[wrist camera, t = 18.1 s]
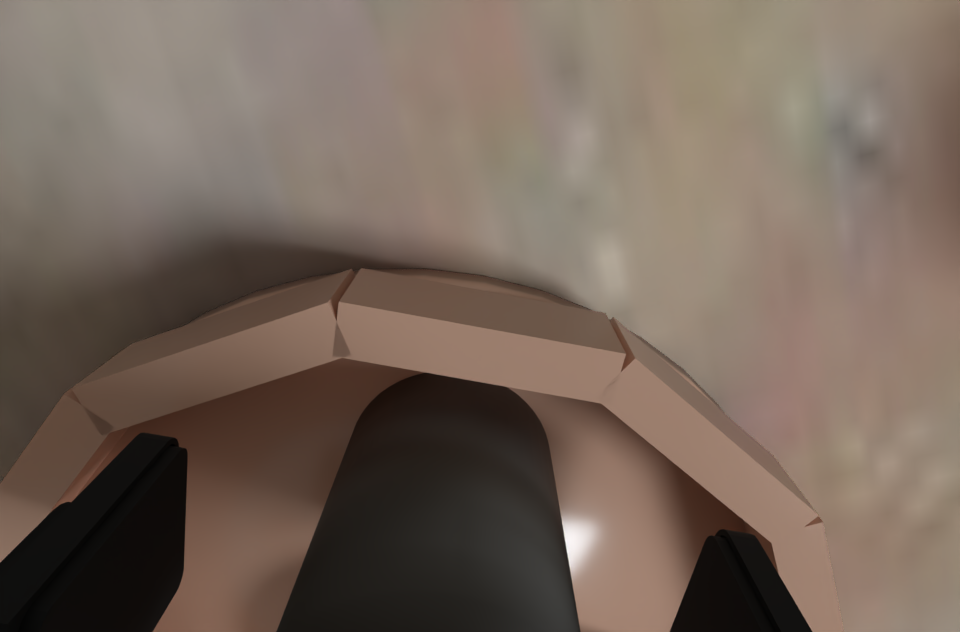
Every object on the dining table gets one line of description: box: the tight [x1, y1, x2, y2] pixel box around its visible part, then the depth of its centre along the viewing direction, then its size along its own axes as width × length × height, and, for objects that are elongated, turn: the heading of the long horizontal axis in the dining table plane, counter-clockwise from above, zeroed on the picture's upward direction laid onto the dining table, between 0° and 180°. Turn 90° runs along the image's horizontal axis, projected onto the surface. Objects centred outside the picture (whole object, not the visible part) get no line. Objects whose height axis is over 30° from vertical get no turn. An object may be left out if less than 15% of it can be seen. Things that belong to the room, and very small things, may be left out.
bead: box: [276, 373, 581, 632], centre depth 11 cm, size 4×4×6 cm
